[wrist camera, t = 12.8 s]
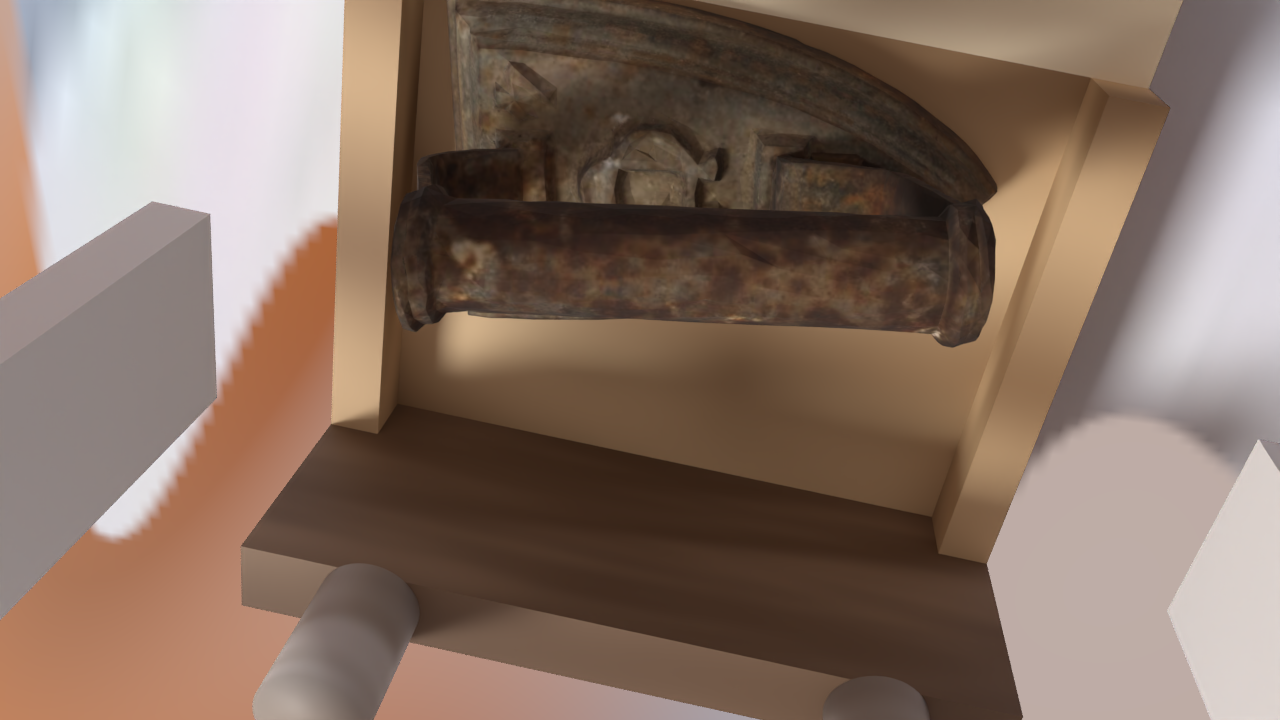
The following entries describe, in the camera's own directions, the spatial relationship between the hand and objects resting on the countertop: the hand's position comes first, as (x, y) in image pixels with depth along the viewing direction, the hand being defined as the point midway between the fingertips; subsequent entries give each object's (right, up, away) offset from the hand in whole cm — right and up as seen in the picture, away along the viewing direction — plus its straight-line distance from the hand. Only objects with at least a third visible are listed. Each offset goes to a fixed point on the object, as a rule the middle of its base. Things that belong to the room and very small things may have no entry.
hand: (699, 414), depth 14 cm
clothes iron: (+1, +5, +9) cm, 10 cm away
